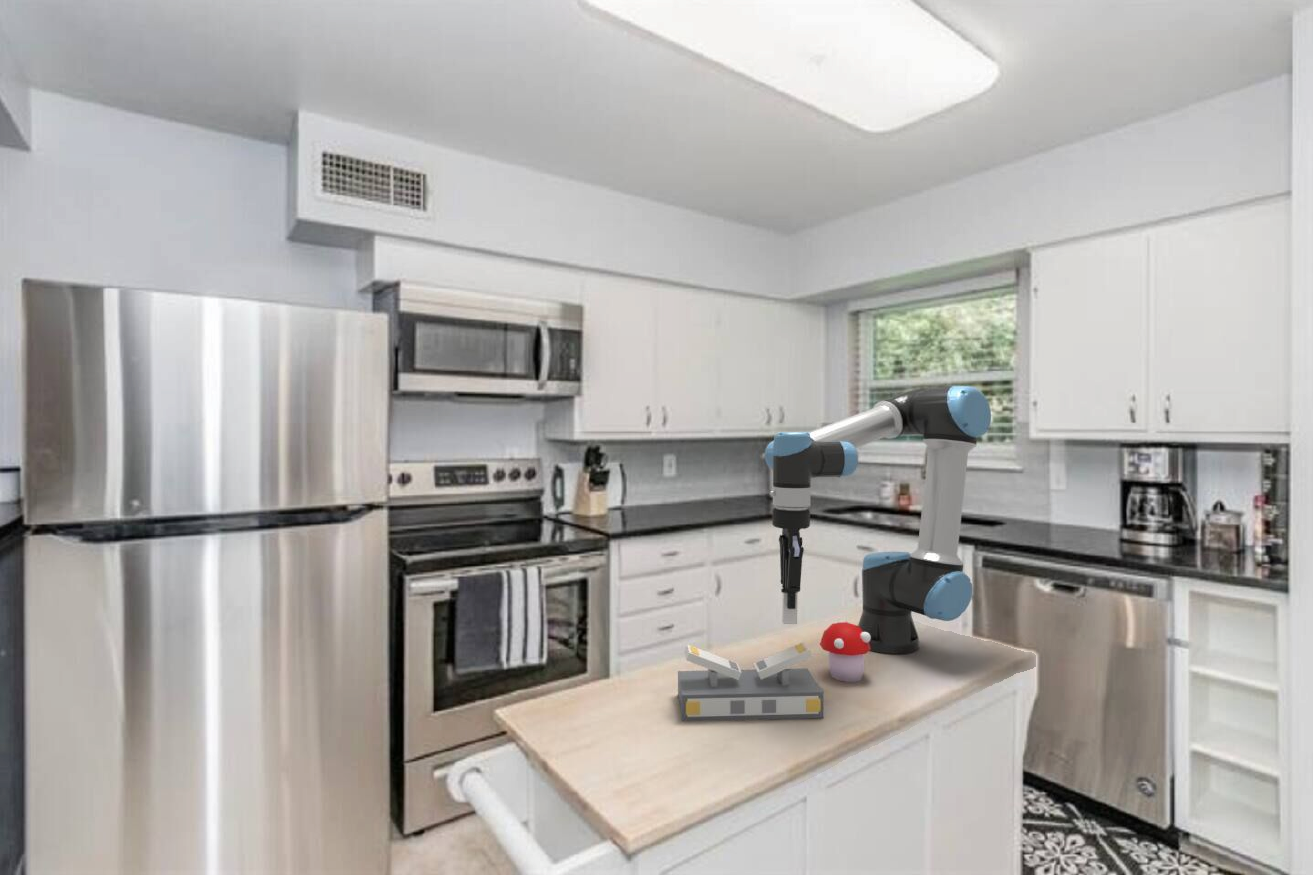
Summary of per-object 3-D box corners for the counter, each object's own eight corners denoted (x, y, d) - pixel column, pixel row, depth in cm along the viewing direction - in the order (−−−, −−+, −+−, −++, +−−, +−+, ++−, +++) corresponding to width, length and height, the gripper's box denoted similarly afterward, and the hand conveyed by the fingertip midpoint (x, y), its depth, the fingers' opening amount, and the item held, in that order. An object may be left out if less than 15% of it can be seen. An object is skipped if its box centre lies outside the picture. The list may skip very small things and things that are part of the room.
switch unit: (807, 691, 139) (807, 655, 139) (824, 718, 127) (824, 678, 127) (678, 694, 138) (677, 657, 138) (682, 722, 126) (682, 681, 126)
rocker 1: (734, 670, 135) (738, 662, 135) (738, 680, 130) (741, 671, 130) (684, 651, 134) (687, 643, 134) (686, 660, 130) (689, 651, 130)
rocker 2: (806, 649, 135) (803, 641, 135) (812, 657, 130) (809, 649, 130) (756, 670, 135) (753, 662, 135) (760, 679, 130) (757, 671, 130)
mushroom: (870, 688, 141) (870, 632, 140) (817, 682, 144) (817, 627, 144) (871, 670, 151) (871, 617, 150) (821, 664, 154) (821, 613, 154)
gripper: (767, 503, 142) (766, 613, 143) (778, 511, 129) (777, 632, 130) (802, 503, 142) (801, 614, 143) (817, 512, 129) (815, 633, 130)
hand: (789, 622), depth 136 cm, fingers closed
